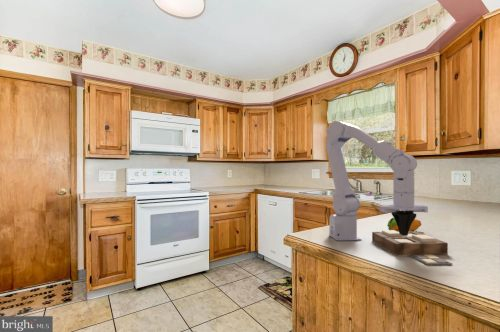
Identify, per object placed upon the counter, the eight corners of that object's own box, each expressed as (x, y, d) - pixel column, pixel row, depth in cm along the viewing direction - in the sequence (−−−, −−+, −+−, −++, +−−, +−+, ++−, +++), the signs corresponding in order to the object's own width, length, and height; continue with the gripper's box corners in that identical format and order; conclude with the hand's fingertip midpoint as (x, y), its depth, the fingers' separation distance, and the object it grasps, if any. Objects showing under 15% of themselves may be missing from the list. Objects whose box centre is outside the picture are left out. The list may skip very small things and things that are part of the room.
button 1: (389, 239, 84) (389, 233, 84) (381, 235, 89) (381, 230, 89) (402, 239, 85) (402, 233, 85) (393, 235, 89) (393, 230, 89)
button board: (396, 255, 76) (396, 243, 76) (372, 241, 90) (372, 232, 90) (447, 254, 77) (447, 243, 77) (415, 241, 91) (415, 231, 91)
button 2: (401, 249, 78) (401, 243, 78) (392, 245, 82) (392, 239, 82) (415, 249, 78) (415, 242, 78) (406, 245, 83) (405, 238, 83)
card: (427, 265, 69) (427, 263, 69) (410, 256, 76) (410, 254, 76) (452, 265, 69) (452, 262, 69) (432, 256, 76) (432, 254, 76)
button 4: (421, 245, 78) (421, 238, 78) (411, 240, 83) (411, 234, 83) (435, 244, 79) (435, 238, 79) (424, 240, 83) (424, 234, 83)
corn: (382, 215, 100) (410, 211, 110) (381, 234, 100) (408, 228, 110) (401, 220, 93) (429, 215, 103) (400, 240, 94) (427, 233, 104)
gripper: (388, 193, 76) (388, 238, 76) (435, 193, 77) (435, 238, 77) (376, 191, 83) (376, 232, 83) (418, 191, 84) (418, 232, 84)
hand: (403, 234), depth 80 cm, fingers closed
